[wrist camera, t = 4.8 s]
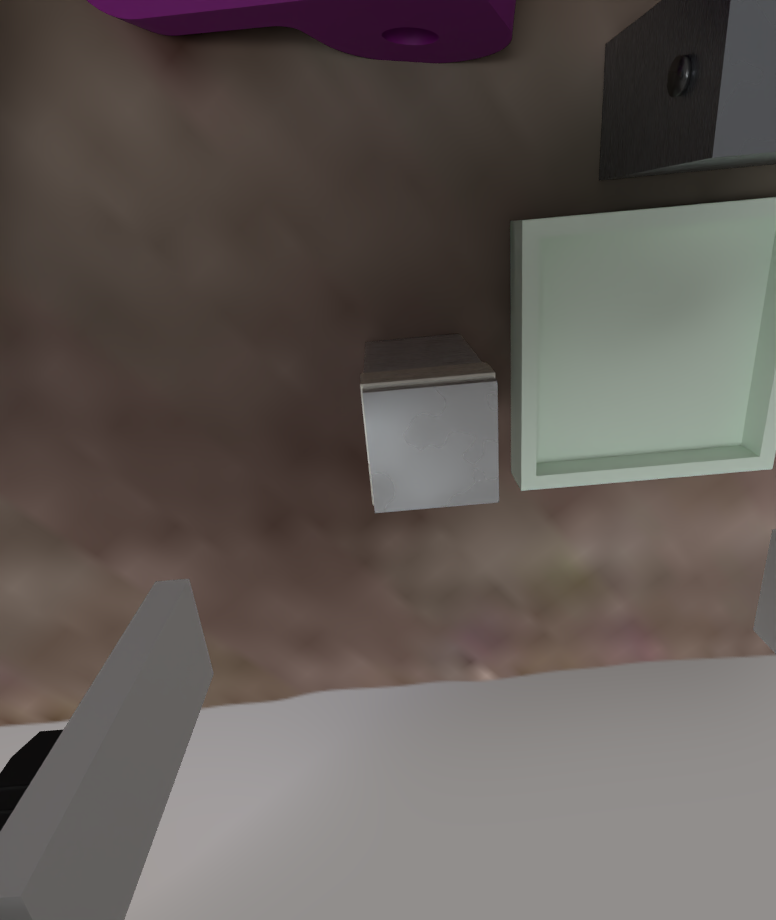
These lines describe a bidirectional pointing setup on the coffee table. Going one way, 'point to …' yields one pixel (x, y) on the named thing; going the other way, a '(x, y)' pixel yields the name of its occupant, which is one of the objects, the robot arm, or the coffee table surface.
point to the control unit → (691, 89)
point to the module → (429, 424)
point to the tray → (643, 344)
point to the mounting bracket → (342, 23)
